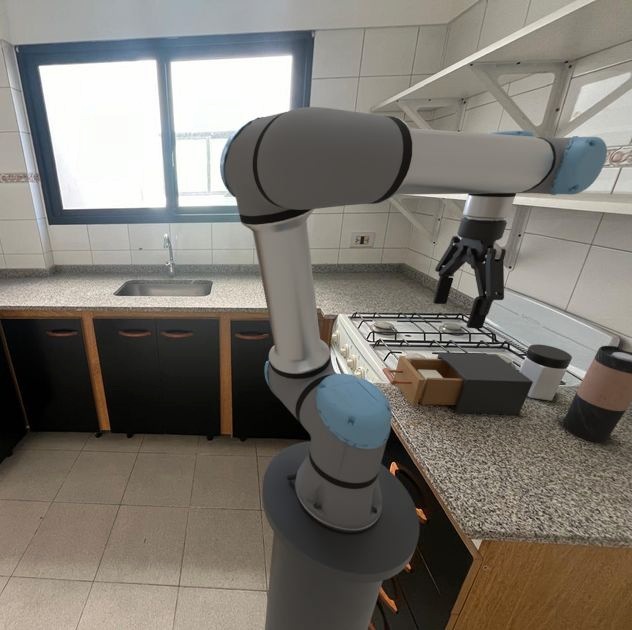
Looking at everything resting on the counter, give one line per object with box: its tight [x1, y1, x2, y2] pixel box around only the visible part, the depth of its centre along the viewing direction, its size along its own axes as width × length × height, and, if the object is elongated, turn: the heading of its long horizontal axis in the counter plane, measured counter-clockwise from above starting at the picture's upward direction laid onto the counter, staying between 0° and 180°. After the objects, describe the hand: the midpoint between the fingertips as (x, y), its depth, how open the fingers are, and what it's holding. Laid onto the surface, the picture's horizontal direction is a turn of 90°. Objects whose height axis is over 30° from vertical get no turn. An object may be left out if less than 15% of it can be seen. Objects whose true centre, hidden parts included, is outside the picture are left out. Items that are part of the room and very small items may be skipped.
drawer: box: [381, 355, 464, 407], centre depth 89 cm, size 18×11×8 cm, turn 86°
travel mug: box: [562, 345, 632, 443], centre depth 74 cm, size 8×8×20 cm
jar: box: [518, 343, 573, 402], centre depth 90 cm, size 9×8×12 cm
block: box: [417, 369, 443, 394], centre depth 89 cm, size 5×5×5 cm
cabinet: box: [436, 352, 533, 416], centre depth 88 cm, size 15×13×10 cm
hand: (455, 314), depth 78 cm, fingers open, 13 cm apart
